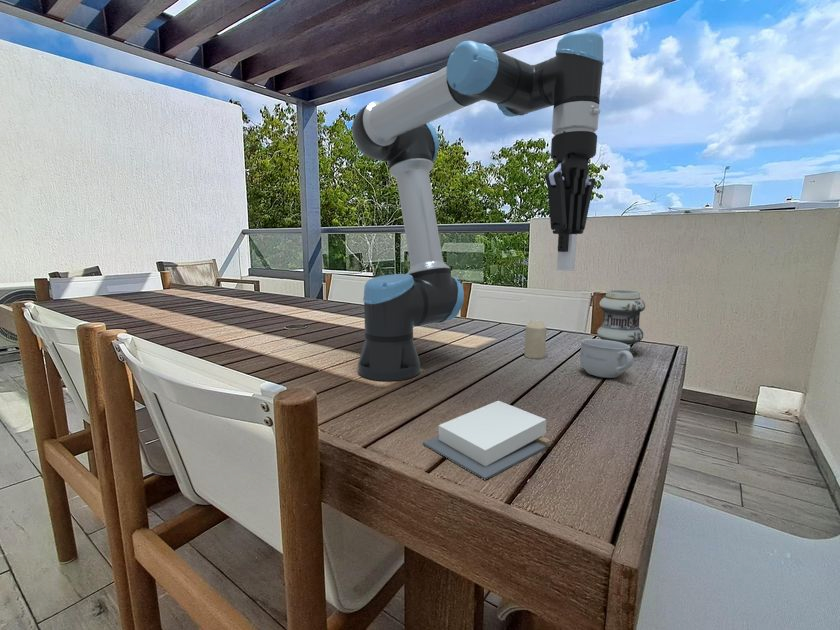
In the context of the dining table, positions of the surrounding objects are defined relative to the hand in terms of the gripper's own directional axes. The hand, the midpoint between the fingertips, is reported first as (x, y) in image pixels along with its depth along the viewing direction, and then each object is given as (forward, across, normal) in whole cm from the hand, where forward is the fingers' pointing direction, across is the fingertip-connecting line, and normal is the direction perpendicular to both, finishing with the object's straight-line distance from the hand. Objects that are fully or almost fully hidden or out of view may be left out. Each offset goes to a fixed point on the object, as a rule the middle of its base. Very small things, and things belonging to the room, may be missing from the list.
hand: (565, 270), depth 77 cm
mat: (+26, -23, -2) cm, 35 cm away
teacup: (+27, +26, +3) cm, 37 cm away
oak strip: (+26, -16, -2) cm, 31 cm away
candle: (+27, +27, +24) cm, 45 cm away
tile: (+24, -14, -2) cm, 28 cm away
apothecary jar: (+27, +50, +11) cm, 57 cm away
